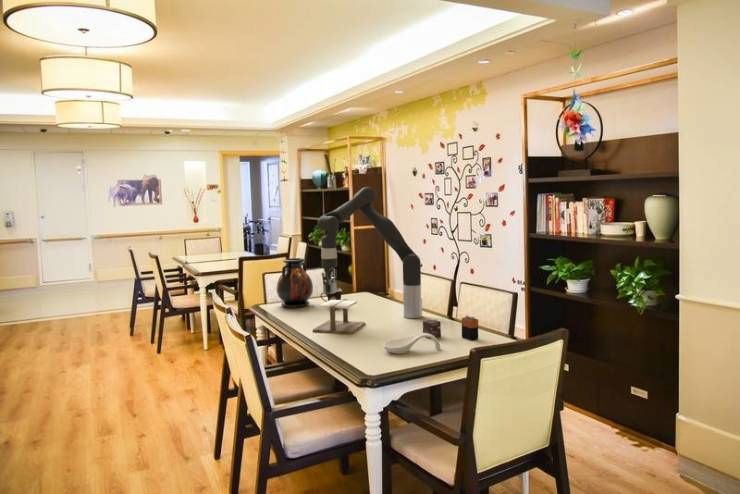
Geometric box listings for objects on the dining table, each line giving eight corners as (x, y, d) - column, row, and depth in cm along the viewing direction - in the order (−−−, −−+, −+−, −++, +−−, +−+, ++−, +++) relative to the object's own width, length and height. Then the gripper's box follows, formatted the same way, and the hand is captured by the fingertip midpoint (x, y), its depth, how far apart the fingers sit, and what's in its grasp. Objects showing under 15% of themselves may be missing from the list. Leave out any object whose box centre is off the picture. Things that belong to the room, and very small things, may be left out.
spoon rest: (386, 357, 220) (386, 339, 219) (380, 349, 231) (380, 332, 230) (443, 353, 224) (443, 336, 223) (435, 345, 235) (434, 329, 234)
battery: (471, 341, 240) (471, 318, 239) (461, 337, 246) (461, 315, 245) (478, 339, 242) (478, 317, 242) (468, 336, 248) (468, 314, 247)
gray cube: (336, 291, 270) (336, 281, 270) (333, 293, 265) (332, 283, 265) (327, 291, 272) (327, 281, 271) (323, 293, 267) (323, 283, 266)
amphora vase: (294, 301, 340) (293, 256, 338) (321, 304, 328) (319, 258, 325) (269, 307, 323) (267, 260, 320) (296, 311, 310) (294, 262, 308)
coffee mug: (344, 307, 319) (344, 290, 318) (336, 309, 312) (335, 292, 311) (328, 305, 326) (328, 288, 325) (320, 307, 318) (319, 290, 317)
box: (429, 339, 244) (429, 323, 244) (422, 336, 250) (422, 320, 249) (441, 337, 247) (441, 321, 247) (433, 334, 253) (433, 319, 252)
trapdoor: (357, 302, 272) (357, 300, 272) (347, 308, 259) (347, 306, 259) (331, 301, 276) (330, 299, 276) (320, 307, 263) (320, 305, 263)
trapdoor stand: (365, 324, 275) (364, 299, 274) (351, 334, 256) (351, 307, 255) (328, 322, 281) (327, 298, 280) (312, 332, 262) (311, 306, 261)
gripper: (330, 259, 259) (331, 294, 260) (341, 255, 272) (342, 289, 274) (316, 258, 261) (317, 294, 263) (327, 255, 275) (328, 288, 276)
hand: (330, 291), depth 268 cm, fingers closed on gray cube, 5 cm apart
